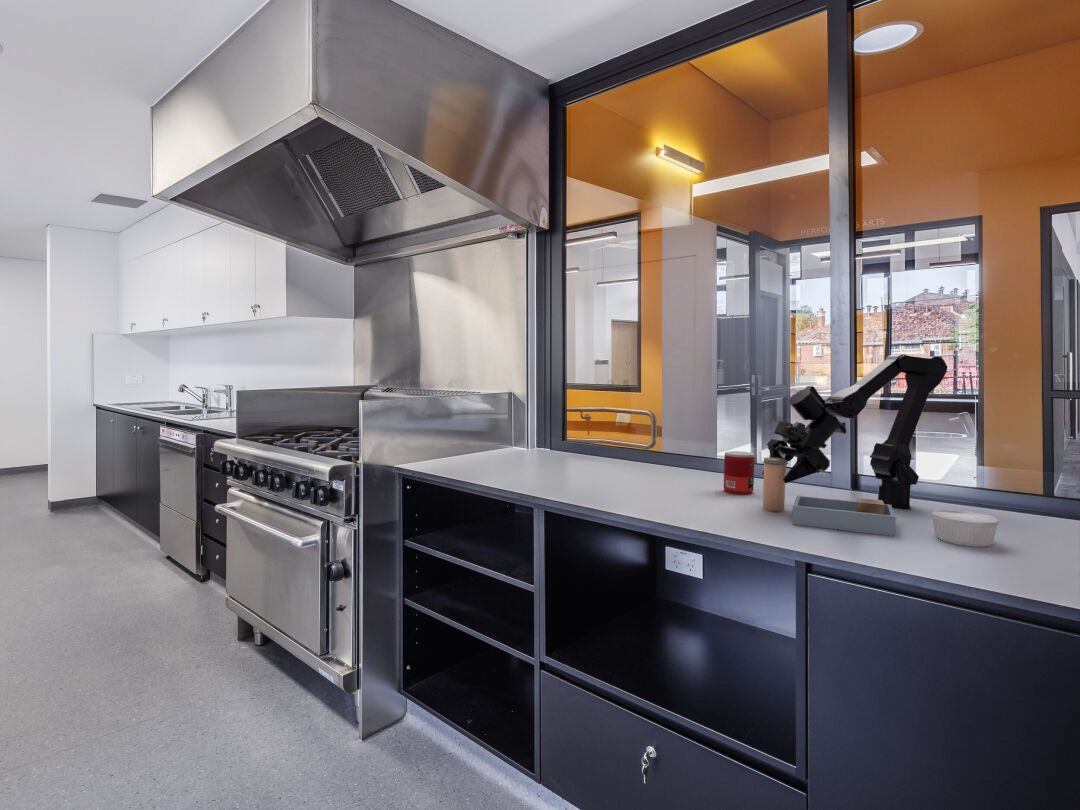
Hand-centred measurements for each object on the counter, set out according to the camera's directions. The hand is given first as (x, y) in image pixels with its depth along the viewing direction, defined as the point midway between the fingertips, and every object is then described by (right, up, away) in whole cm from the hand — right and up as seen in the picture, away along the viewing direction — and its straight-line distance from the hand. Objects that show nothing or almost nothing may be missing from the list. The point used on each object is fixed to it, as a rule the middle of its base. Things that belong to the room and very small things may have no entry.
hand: (773, 478), depth 146 cm
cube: (+15, -8, -15) cm, 23 cm away
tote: (+10, -9, -13) cm, 18 cm away
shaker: (0, -8, 0) cm, 8 cm away
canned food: (-1, -7, +21) cm, 23 cm away
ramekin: (+29, -10, -25) cm, 39 cm away
